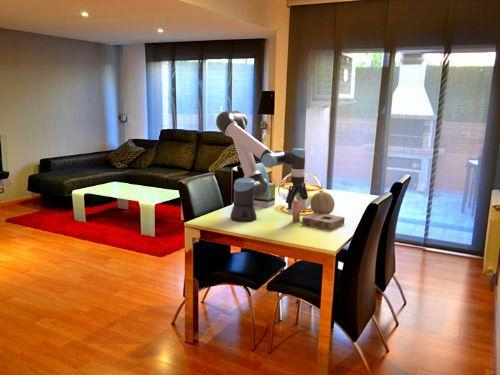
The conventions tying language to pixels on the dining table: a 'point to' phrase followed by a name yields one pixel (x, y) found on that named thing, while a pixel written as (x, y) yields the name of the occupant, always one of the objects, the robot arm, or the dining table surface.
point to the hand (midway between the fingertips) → (296, 212)
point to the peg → (296, 211)
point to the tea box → (266, 197)
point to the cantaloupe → (322, 203)
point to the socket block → (323, 221)
